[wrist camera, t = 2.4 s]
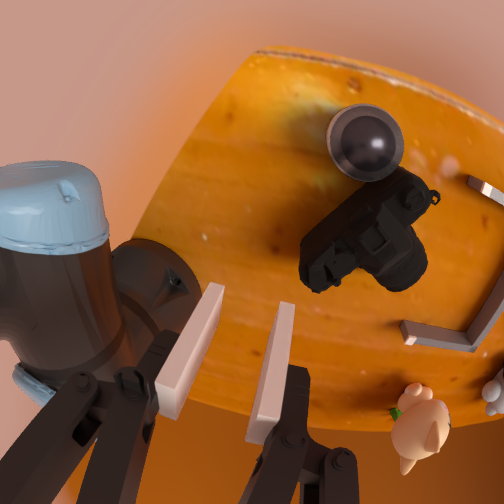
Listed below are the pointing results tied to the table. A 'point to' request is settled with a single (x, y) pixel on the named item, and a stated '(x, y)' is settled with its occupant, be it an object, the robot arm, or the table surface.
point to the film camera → (370, 235)
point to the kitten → (418, 425)
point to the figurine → (494, 394)
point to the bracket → (484, 321)
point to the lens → (365, 142)
